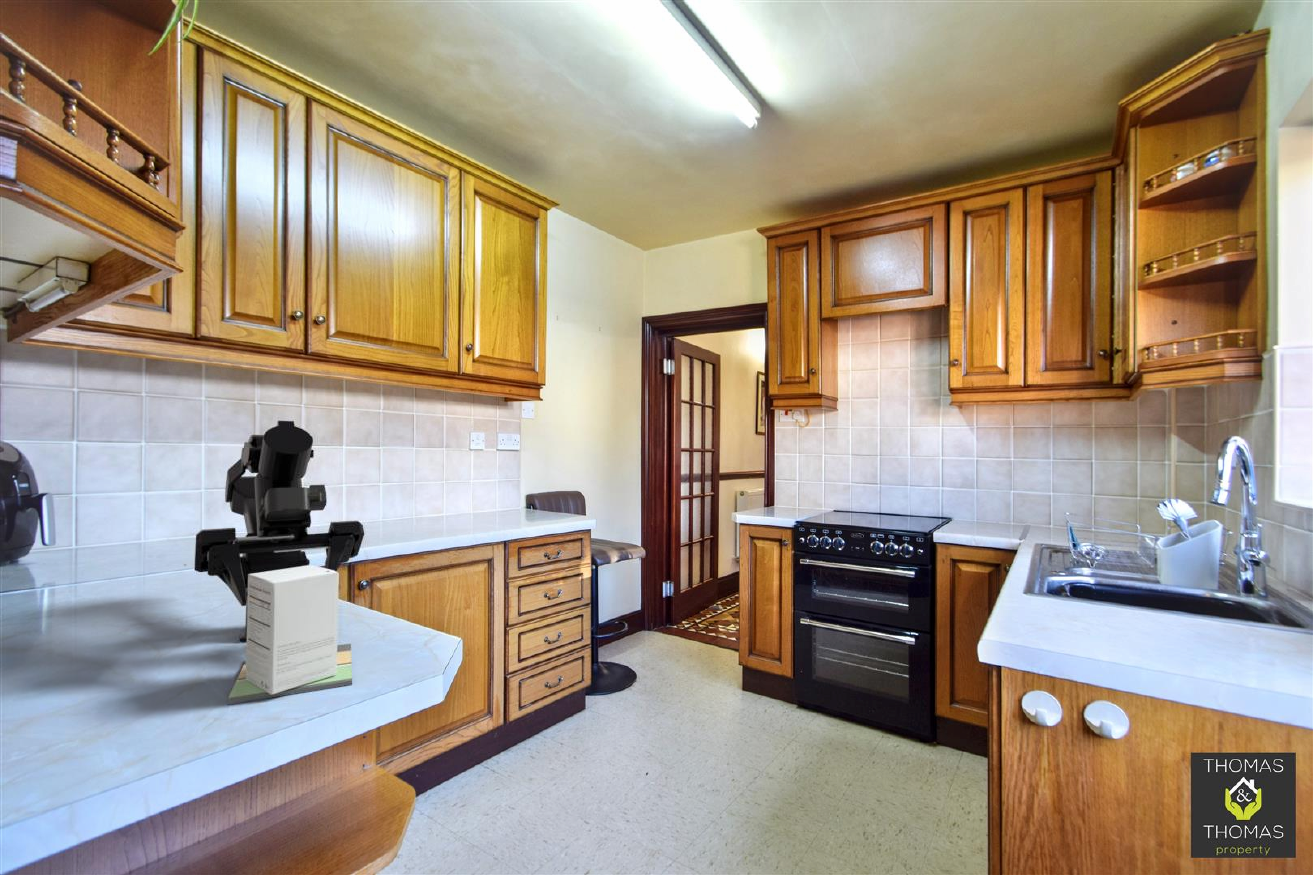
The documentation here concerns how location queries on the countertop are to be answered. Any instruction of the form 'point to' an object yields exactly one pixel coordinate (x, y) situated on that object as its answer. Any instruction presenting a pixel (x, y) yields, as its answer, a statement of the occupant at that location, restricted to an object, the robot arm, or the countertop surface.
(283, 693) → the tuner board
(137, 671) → the countertop surface
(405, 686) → the countertop surface
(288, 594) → the supplement box
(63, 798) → the countertop surface
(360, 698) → the countertop surface
